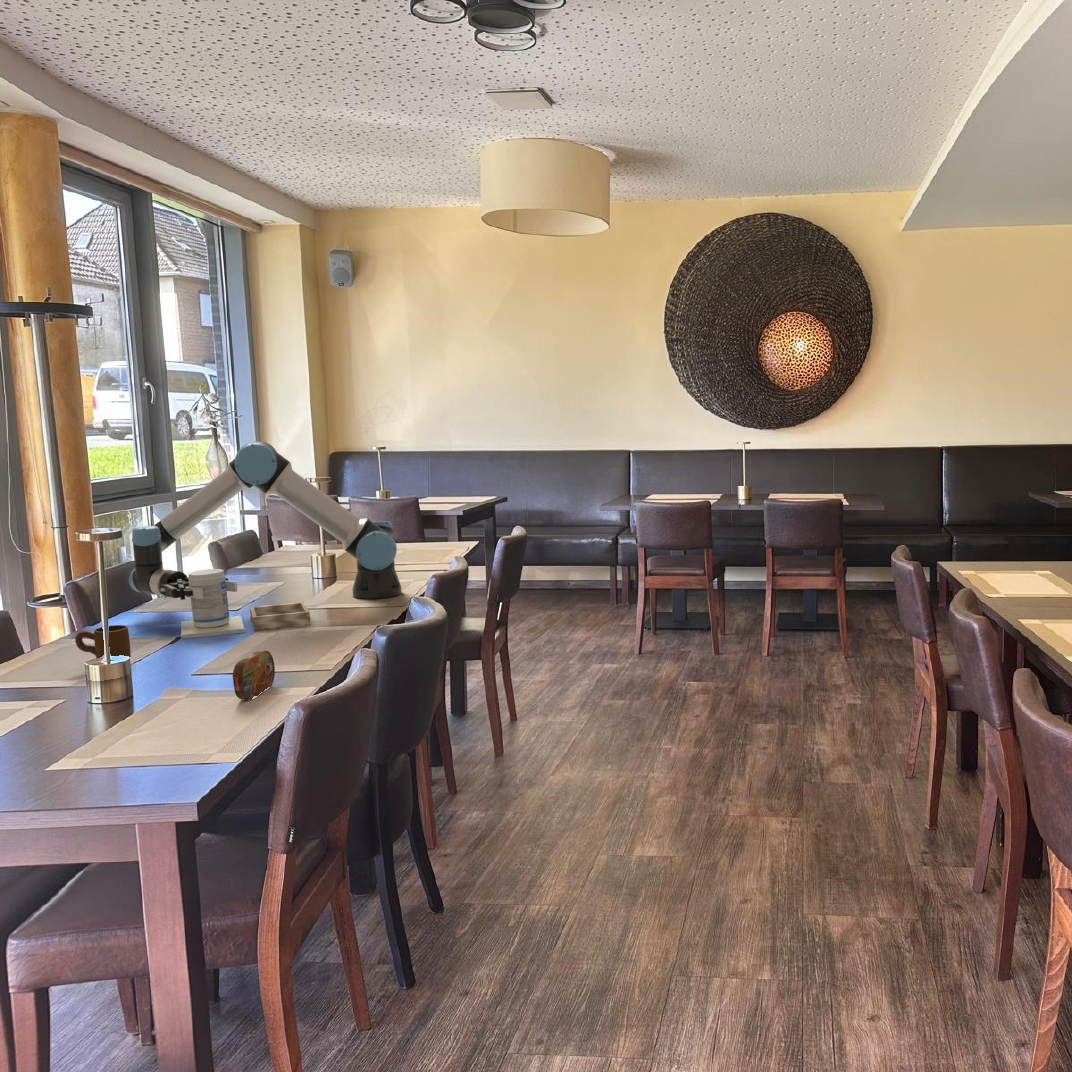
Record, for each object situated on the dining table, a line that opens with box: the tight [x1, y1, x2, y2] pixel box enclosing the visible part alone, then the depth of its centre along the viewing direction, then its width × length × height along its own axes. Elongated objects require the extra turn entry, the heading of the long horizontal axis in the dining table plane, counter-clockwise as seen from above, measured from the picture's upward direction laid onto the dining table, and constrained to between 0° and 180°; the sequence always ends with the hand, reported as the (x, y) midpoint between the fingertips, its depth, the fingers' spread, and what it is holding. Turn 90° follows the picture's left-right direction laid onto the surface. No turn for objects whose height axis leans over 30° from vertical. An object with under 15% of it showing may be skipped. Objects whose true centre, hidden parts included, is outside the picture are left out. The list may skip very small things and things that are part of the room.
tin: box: [232, 650, 276, 701], centre depth 215 cm, size 15×3×8 cm, turn 170°
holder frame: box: [249, 601, 311, 630], centre depth 286 cm, size 15×15×4 cm
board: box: [180, 615, 245, 640], centre depth 280 cm, size 16×18×1 cm
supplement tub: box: [187, 568, 230, 628], centre depth 279 cm, size 10×10×15 cm
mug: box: [75, 624, 132, 660], centre depth 241 cm, size 12×8×9 cm, turn 97°
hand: (219, 590), depth 276 cm, fingers open, 10 cm apart
